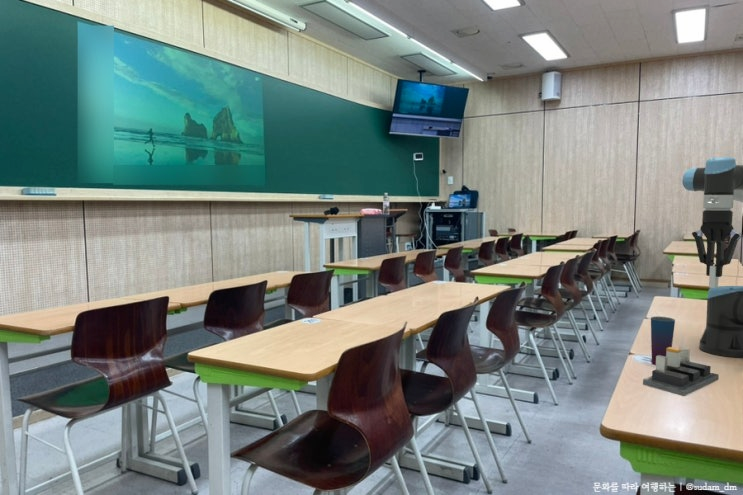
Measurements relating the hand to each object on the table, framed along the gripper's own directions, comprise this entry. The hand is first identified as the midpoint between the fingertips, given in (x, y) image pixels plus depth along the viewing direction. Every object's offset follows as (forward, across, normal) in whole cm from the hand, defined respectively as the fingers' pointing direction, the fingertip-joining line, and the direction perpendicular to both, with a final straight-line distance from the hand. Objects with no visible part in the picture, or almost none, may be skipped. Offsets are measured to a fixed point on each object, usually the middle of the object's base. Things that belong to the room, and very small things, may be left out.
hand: (713, 287), depth 158 cm
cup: (+27, -12, -5) cm, 30 cm away
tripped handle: (+22, -3, -17) cm, 28 cm away
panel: (+26, -1, -17) cm, 31 cm away
